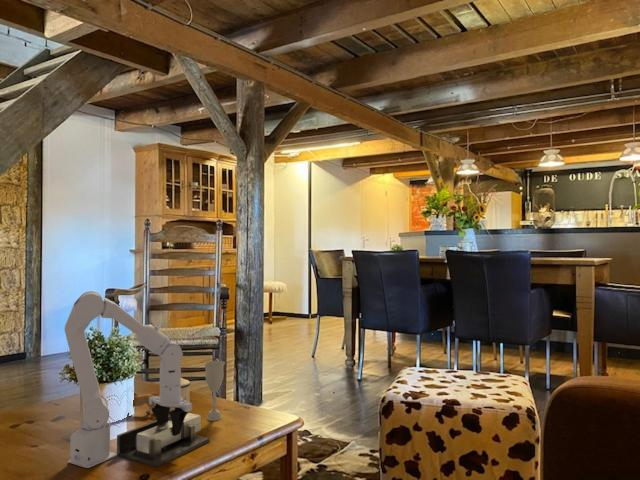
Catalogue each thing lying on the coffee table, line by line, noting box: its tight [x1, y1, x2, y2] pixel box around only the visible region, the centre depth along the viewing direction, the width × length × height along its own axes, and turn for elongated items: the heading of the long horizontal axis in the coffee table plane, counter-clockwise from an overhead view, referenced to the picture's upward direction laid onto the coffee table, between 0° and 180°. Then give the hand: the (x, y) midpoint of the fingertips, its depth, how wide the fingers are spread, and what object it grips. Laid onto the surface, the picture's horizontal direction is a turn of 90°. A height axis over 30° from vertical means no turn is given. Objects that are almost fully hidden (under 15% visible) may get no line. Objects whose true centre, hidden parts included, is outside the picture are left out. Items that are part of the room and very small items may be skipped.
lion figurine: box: [133, 392, 155, 416], centre depth 178 cm, size 15×5×9 cm, turn 109°
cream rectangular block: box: [137, 412, 202, 454], centre depth 149 cm, size 20×4×4 cm, turn 151°
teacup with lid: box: [169, 377, 191, 412], centre depth 182 cm, size 12×9×12 cm
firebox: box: [116, 414, 210, 468], centre depth 148 cm, size 20×15×6 cm
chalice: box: [203, 360, 226, 422], centre depth 174 cm, size 7×7×18 cm
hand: (170, 433), depth 149 cm, fingers closed on cream rectangular block, 4 cm apart
